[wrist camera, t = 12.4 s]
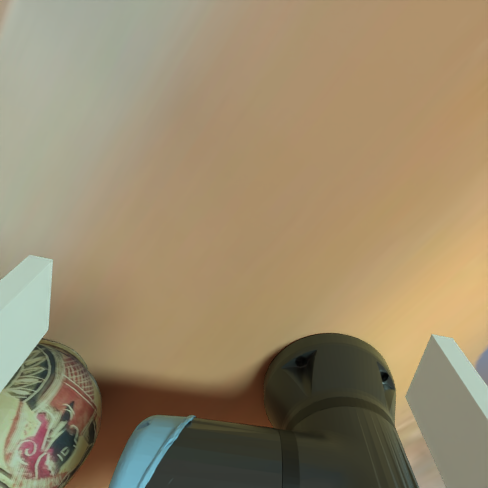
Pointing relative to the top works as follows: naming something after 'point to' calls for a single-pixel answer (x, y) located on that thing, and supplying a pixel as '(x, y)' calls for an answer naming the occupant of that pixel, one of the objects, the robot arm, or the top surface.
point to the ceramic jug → (48, 418)
